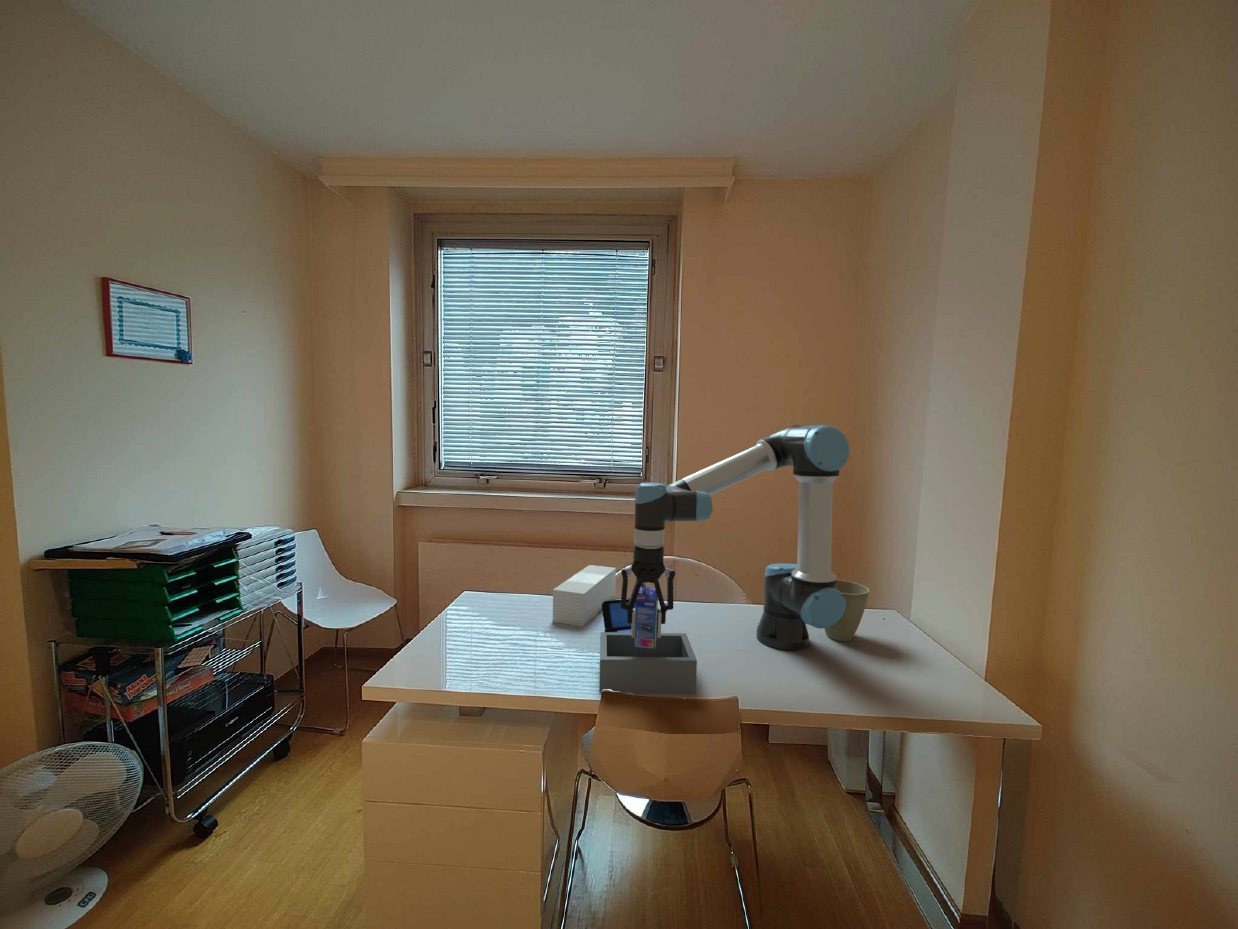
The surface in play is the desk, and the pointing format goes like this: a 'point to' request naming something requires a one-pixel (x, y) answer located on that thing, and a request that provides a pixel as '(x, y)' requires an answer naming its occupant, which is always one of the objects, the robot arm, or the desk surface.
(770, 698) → the desk surface
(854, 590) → the plant pot
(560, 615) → the stack of papers
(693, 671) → the collection bin
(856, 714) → the desk surface
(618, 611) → the handheld game console
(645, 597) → the ink cartridge box
